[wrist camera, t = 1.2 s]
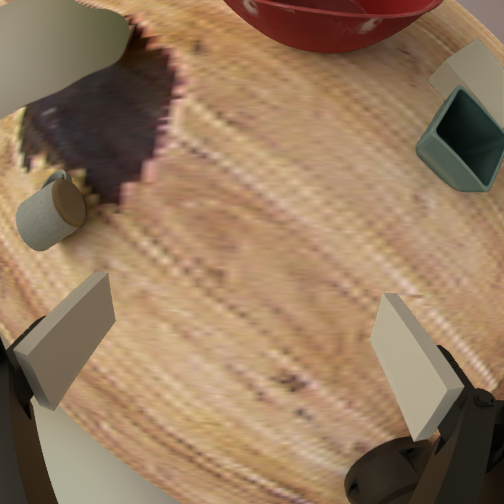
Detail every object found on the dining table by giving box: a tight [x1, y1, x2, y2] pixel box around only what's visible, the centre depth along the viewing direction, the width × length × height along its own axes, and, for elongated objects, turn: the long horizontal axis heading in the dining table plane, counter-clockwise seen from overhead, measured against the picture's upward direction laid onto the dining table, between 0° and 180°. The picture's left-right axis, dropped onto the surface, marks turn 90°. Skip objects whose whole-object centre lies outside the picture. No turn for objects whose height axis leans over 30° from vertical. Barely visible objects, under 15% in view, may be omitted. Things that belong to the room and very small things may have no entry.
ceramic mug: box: [16, 170, 86, 251], centre depth 32 cm, size 11×8×8 cm
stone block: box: [428, 38, 504, 129], centre depth 27 cm, size 11×11×6 cm
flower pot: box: [416, 85, 504, 192], centre depth 27 cm, size 9×9×9 cm
